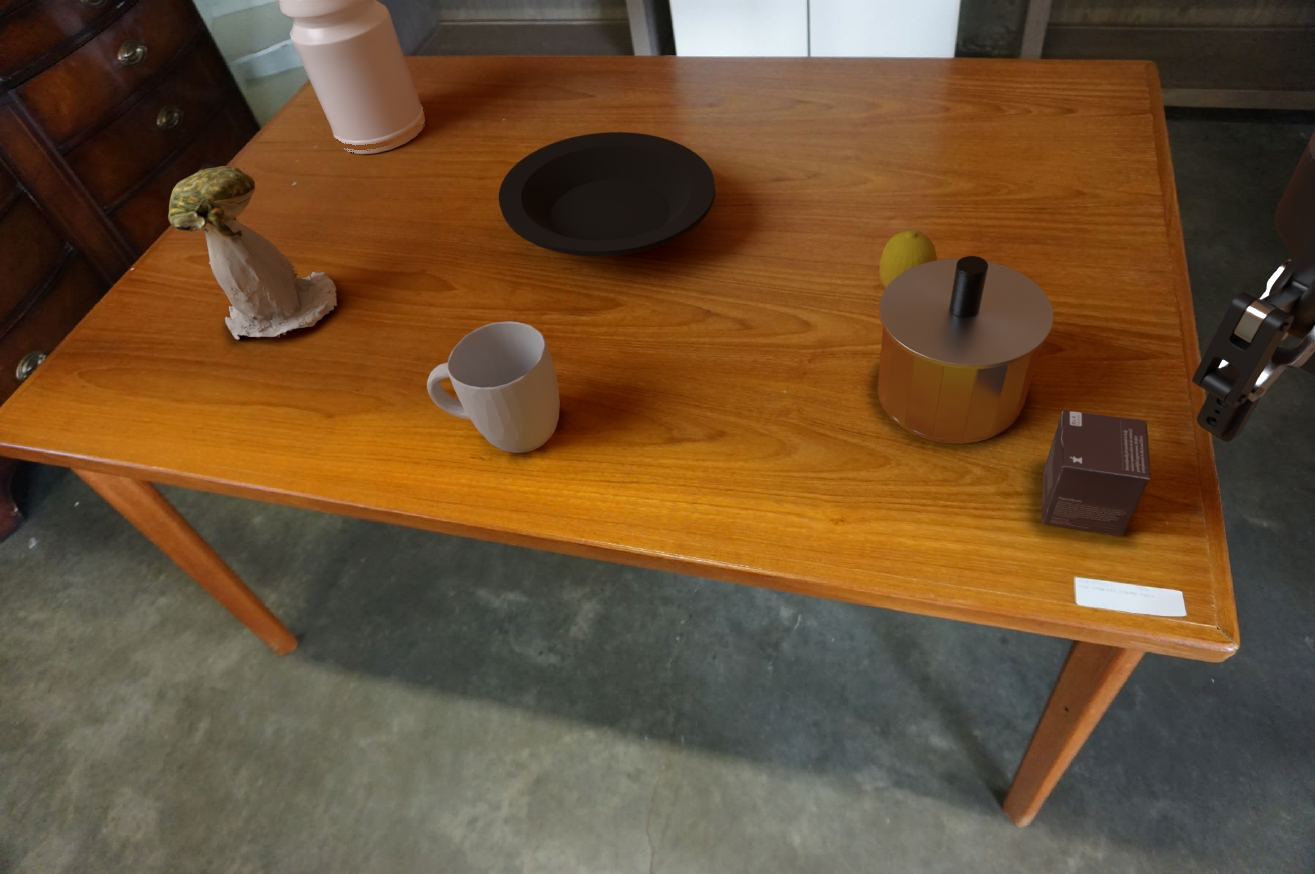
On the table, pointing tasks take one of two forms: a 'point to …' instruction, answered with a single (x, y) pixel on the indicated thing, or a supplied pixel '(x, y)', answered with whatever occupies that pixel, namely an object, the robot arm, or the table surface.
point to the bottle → (356, 69)
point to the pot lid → (966, 313)
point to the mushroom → (247, 257)
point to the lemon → (905, 254)
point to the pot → (951, 395)
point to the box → (1095, 472)
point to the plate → (607, 194)
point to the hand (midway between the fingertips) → (1264, 399)
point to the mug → (502, 385)
